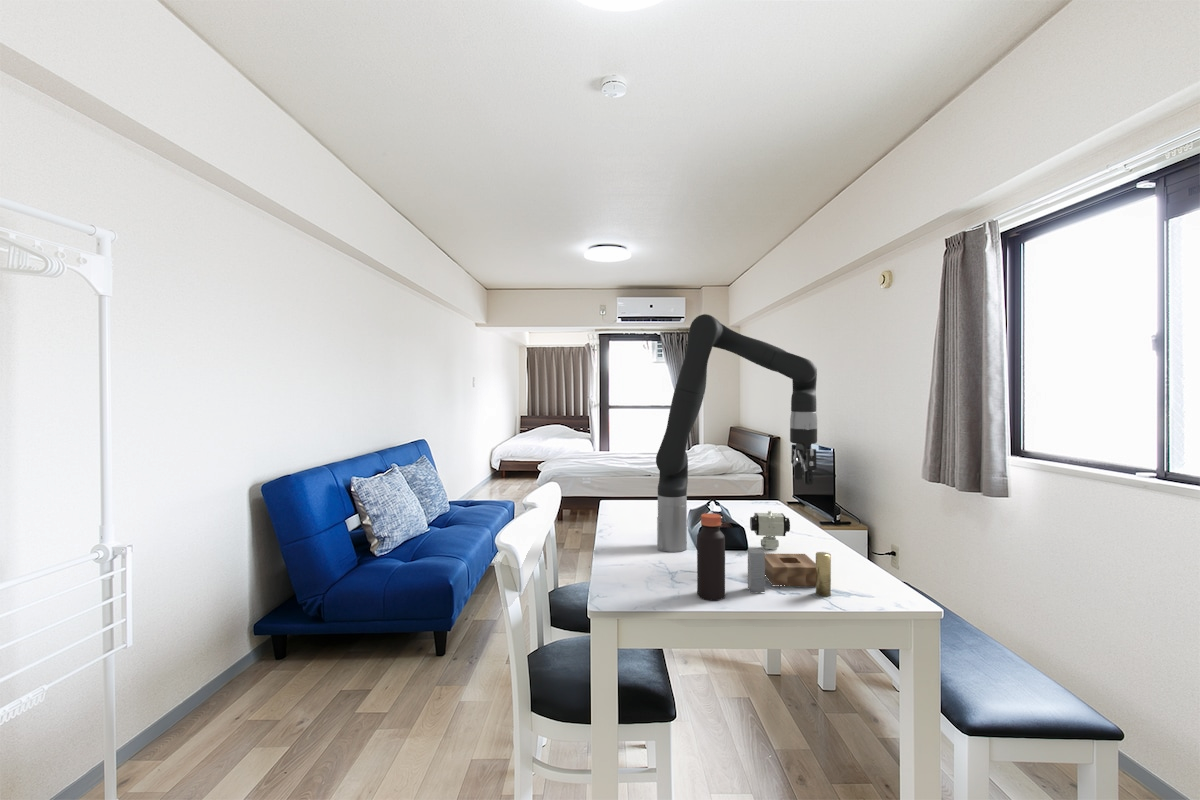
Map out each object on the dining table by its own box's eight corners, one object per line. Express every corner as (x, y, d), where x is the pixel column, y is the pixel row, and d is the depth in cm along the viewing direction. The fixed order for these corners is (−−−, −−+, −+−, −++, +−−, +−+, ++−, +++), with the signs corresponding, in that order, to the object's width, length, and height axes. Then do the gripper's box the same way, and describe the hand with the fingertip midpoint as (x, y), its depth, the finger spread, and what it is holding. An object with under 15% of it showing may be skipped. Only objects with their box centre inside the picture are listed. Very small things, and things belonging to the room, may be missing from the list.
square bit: (750, 593, 140) (750, 553, 140) (747, 587, 144) (747, 549, 143) (764, 593, 140) (765, 553, 140) (761, 588, 143) (761, 549, 143)
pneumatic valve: (749, 545, 182) (749, 509, 181) (787, 547, 180) (787, 509, 180) (752, 550, 176) (752, 512, 176) (790, 552, 175) (790, 513, 174)
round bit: (818, 596, 137) (818, 556, 137) (813, 591, 141) (813, 552, 141) (832, 596, 137) (833, 556, 137) (827, 591, 141) (827, 552, 141)
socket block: (773, 586, 145) (773, 567, 144) (761, 571, 157) (761, 553, 156) (820, 586, 144) (820, 567, 144) (805, 571, 156) (805, 553, 156)
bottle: (691, 595, 139) (691, 514, 139) (709, 588, 143) (709, 511, 143) (712, 603, 134) (712, 519, 133) (730, 596, 138) (730, 515, 137)
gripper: (783, 425, 172) (782, 478, 172) (799, 428, 157) (798, 486, 158) (807, 425, 172) (807, 477, 172) (825, 428, 157) (825, 486, 158)
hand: (803, 481), depth 165 cm, fingers open, 8 cm apart
